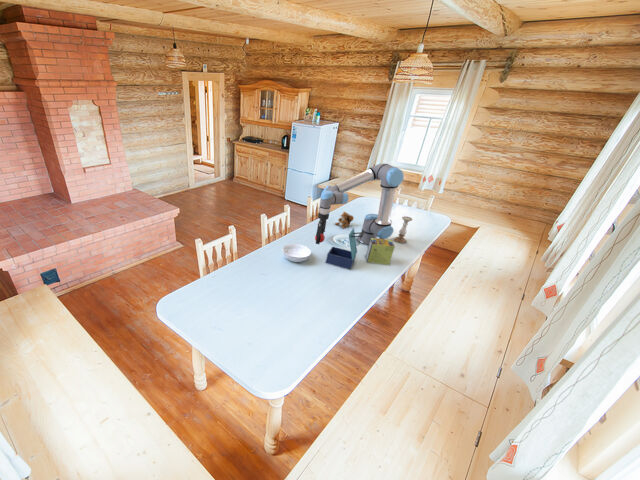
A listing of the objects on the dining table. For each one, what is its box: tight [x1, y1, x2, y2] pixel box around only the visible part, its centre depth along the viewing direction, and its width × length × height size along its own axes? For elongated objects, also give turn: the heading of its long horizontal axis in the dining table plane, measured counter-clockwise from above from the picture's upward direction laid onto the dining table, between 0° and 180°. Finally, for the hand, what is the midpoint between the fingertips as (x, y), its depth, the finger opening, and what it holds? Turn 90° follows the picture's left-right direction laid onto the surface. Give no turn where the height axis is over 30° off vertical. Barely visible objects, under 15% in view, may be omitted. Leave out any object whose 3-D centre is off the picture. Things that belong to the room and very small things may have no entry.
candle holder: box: [394, 215, 413, 244], centre depth 259 cm, size 9×9×20 cm
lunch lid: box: [348, 227, 365, 260], centre depth 218 cm, size 18×13×8 cm
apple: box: [314, 233, 326, 243], centre depth 233 cm, size 7×7×8 cm
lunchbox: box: [325, 246, 357, 270], centre depth 229 cm, size 18×13×8 cm
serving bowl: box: [281, 243, 312, 263], centre depth 233 cm, size 21×21×7 cm
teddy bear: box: [335, 211, 355, 229], centre depth 284 cm, size 10×14×13 cm
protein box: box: [365, 237, 396, 266], centre depth 231 cm, size 10×15×16 cm
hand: (319, 241), depth 235 cm, fingers closed on apple, 7 cm apart
